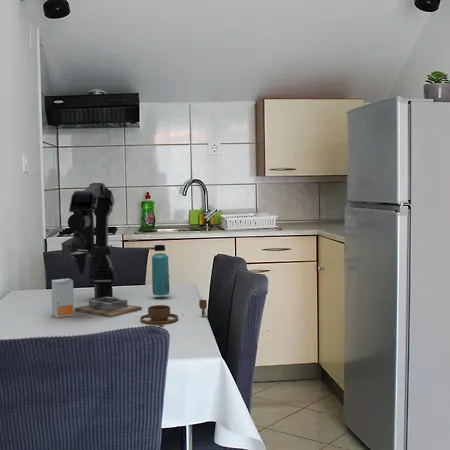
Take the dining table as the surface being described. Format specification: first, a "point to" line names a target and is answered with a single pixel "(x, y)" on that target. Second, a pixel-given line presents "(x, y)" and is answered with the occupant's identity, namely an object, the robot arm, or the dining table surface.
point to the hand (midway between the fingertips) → (86, 275)
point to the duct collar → (108, 307)
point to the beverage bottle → (160, 272)
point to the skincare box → (62, 298)
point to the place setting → (165, 314)
